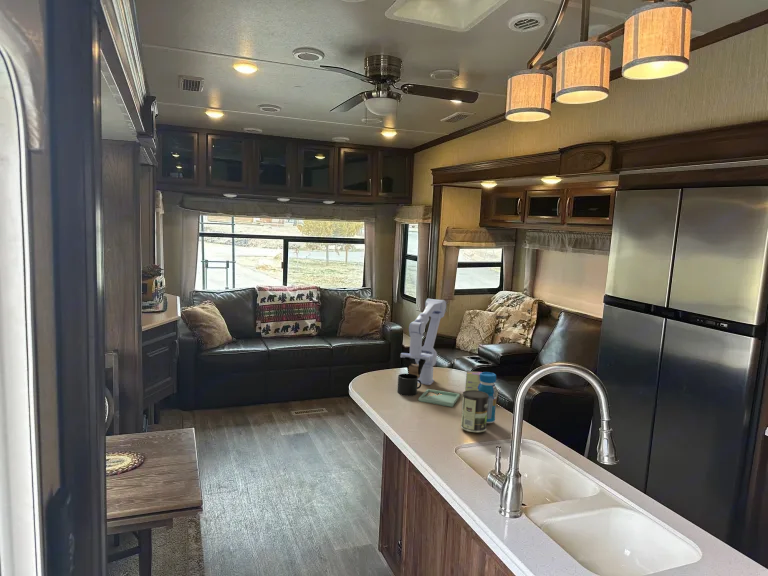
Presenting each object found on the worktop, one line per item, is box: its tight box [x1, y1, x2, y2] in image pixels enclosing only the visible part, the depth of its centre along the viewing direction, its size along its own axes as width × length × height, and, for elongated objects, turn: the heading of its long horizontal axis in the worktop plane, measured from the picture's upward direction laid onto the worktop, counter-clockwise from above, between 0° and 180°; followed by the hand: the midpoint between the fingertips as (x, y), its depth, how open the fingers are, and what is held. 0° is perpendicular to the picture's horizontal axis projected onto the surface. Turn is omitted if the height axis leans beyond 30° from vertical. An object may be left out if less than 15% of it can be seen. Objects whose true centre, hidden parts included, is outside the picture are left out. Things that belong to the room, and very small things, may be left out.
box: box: [464, 370, 482, 391], centre depth 248 cm, size 10×6×12 cm, turn 84°
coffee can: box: [460, 390, 489, 433], centre depth 207 cm, size 10×10×14 cm
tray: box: [418, 388, 461, 408], centre depth 242 cm, size 16×16×2 cm
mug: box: [396, 373, 422, 397], centre depth 247 cm, size 9×12×9 cm
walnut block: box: [407, 363, 420, 378], centre depth 252 cm, size 5×5×6 cm
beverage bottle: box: [477, 371, 498, 424], centre depth 216 cm, size 8×8×20 cm
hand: (414, 373), depth 252 cm, fingers closed on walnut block, 5 cm apart
